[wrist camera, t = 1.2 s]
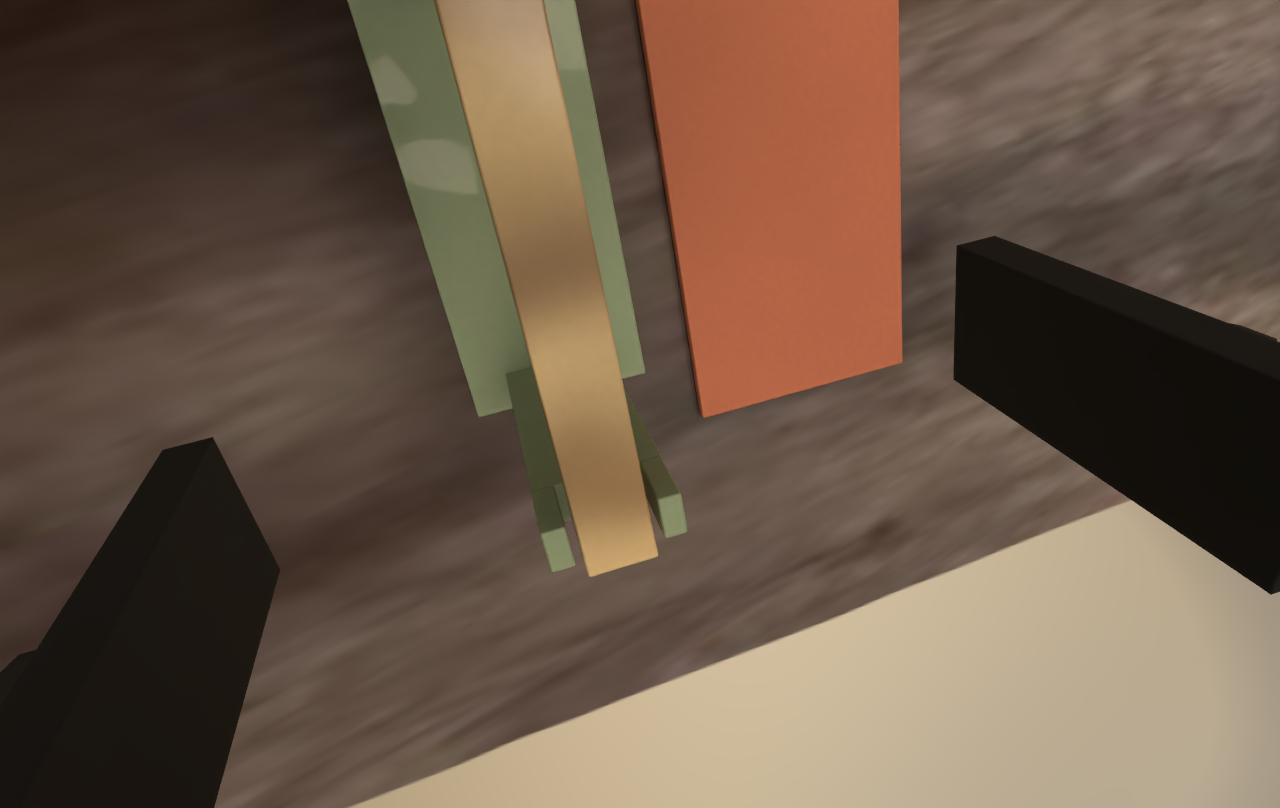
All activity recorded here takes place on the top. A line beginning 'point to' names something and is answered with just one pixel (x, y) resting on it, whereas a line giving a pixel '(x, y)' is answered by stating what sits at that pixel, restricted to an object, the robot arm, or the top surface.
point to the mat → (780, 187)
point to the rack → (469, 250)
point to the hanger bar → (551, 265)
